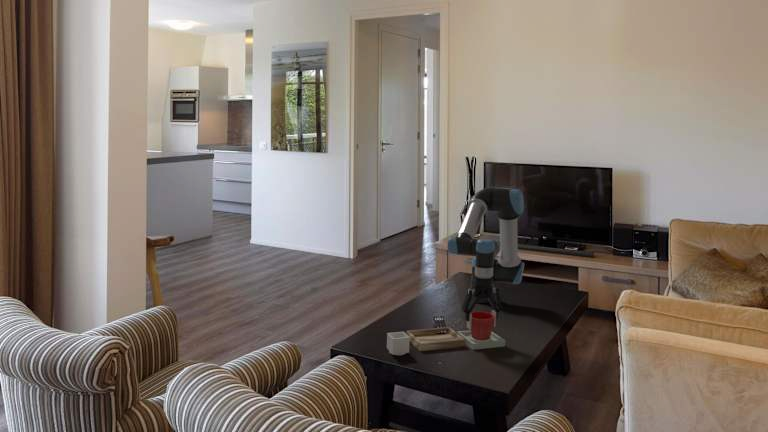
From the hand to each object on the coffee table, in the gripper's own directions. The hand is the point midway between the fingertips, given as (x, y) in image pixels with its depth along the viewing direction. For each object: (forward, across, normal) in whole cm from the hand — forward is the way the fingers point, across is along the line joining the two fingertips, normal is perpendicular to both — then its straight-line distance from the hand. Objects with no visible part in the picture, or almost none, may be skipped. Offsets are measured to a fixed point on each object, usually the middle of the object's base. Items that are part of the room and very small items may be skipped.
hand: (481, 327), depth 250 cm
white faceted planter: (+7, -38, -2) cm, 39 cm away
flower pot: (+5, 0, 0) cm, 5 cm away
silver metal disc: (+5, 0, 0) cm, 5 cm away
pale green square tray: (+6, 0, 0) cm, 6 cm away
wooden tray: (+7, -19, +4) cm, 21 cm away
